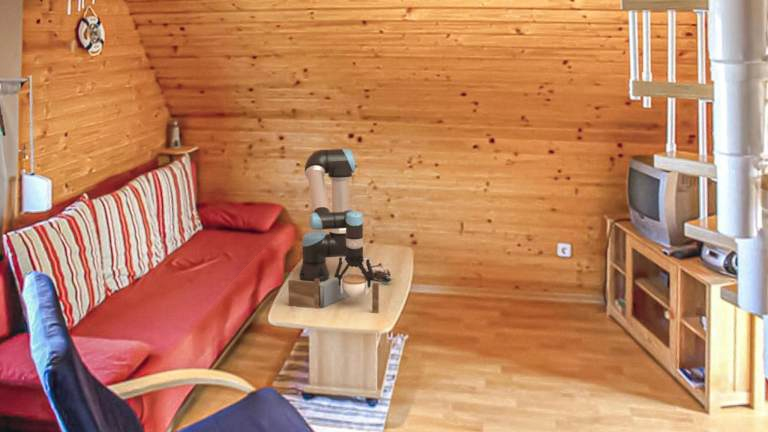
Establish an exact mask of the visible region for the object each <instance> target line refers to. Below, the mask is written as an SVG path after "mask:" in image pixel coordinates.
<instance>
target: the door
mask: <svg viewBox="0 0 768 432" xmlns="http://www.w3.org/2000/svg"><path fill="white" fill-rule="evenodd" d="M351 274H352V273H345V274H344V275H343V276H342V278H343V277H344V276H346V275H351ZM346 297H349V295H348V294H347V293H346V292H345V290H344V292H343V293H341V286H339V279H338V278H335V279H333V280H331V281H328V282H325V283H324V284H322V285H320V308H321V309H323V308H325V307H328V306H329V305H331V304H333V303H336V302H338V301H340V300H341V299H344V298H346ZM320 308H319V309H320Z"/></svg>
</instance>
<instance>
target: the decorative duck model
mask: <svg viewBox="0 0 768 432" xmlns="http://www.w3.org/2000/svg"><path fill="white" fill-rule="evenodd" d="M371 267H372V270H373V273H374V276H375V278H374V280H375V281H379V282H381V281H384V282H385V283H390V282H391V281H394V280H395V277H391V272H390V270H389V269H388V268H387V267H385V266H383V265H382V262H379V263H377V265H371ZM365 269H366V271H367V273H368V274H369V271H368V268H367V267H366V268H365ZM360 273H361V274H362V275H363V276H364V274H363V273H362V271H361V272H360ZM369 276H370V274H369Z"/></svg>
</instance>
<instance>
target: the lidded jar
mask: <svg viewBox="0 0 768 432" xmlns="http://www.w3.org/2000/svg"><path fill="white" fill-rule="evenodd" d="M350 274H351V275H346V274H345V275H346V276H344V275H343V276H344V277H343V287H344V290H345V292H346V293H347V294H348V297H354V298H355V297H359V296H362V294H364V292H365V291H366V280H367V279H366V278H365V276H364V275H363V274H358V273H356V274H355V273H354V274H353V273H350Z"/></svg>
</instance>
